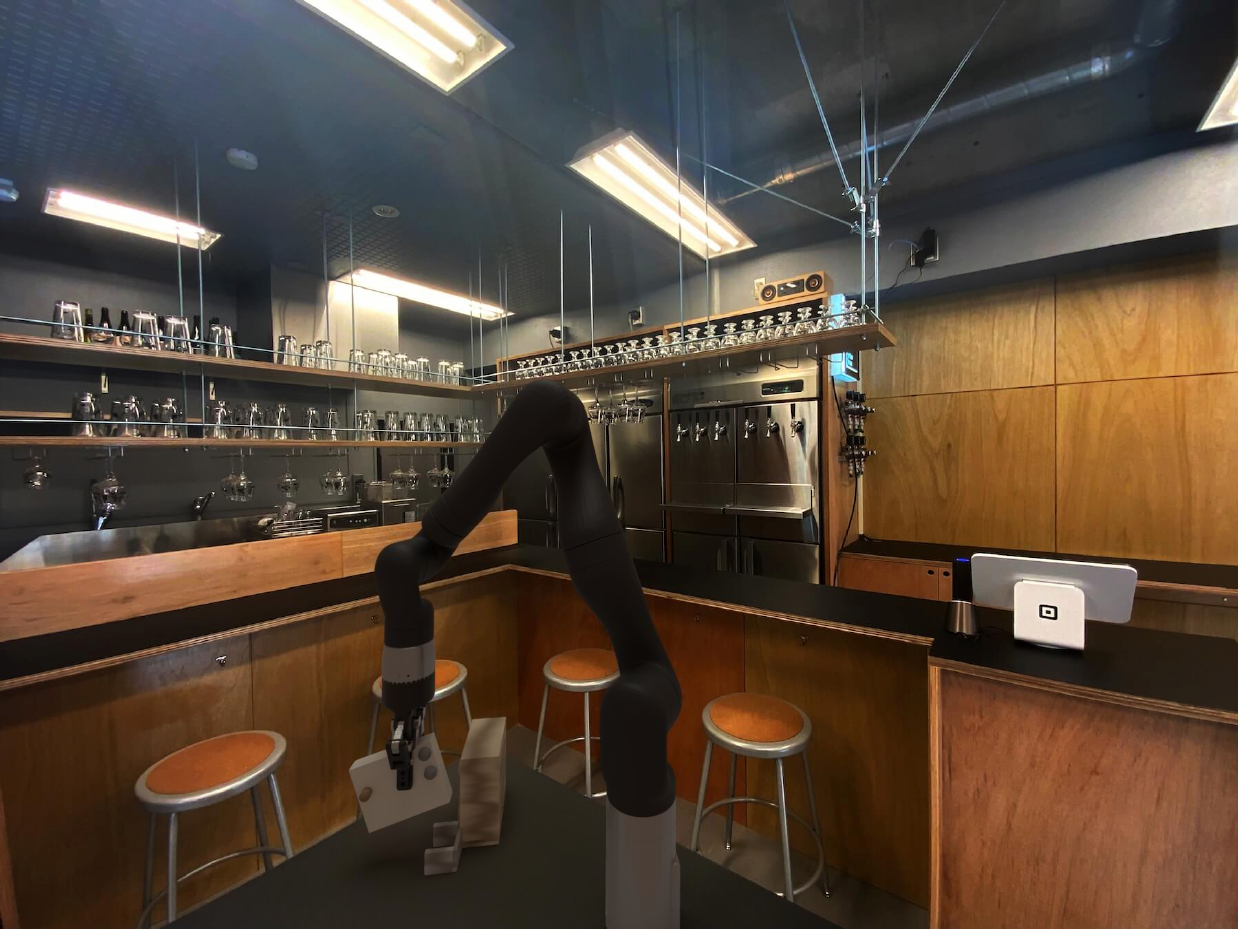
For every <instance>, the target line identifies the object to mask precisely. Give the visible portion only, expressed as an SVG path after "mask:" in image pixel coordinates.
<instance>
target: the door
mask: <svg viewBox="0 0 1238 929" xmlns="http://www.w3.org/2000/svg"><path fill="white" fill-rule="evenodd" d="M412 741H413V740H412ZM348 772H349V776H350V779H351V783H352V786H353V787H354V791H355V794H356V797H357V800H358V804H359V807H360V809H361V810H360V811H361V813H362V816H363V819H364V822H365V825H366V829H367V832H368V833H369V834H371V833H373V832H376V831H378V830H381V829H383V828H387V827H389V826H391V825H394V824H396V823H399V822H401V821H404V820H407V819H409V818H412V817H415V816H417V815H420V814H424V813H425V812H428V811H431V810H434V809H436V808H438V807H441V806H443V805H447V804H450V802H451V798H452V795H453V792H454V791H453V788H452V785H451V782H450V779H449V776H448V772H447V769H446V766H445V763H444V760H443V756H442V753H441V749H440V747H439V744H438V741H437V737H436V734H435V732H432V733H431V732H430V733H428V734H424V736H422V737H420V738H418V745H417V746H416V748H415V749H414V763H413V786H412V788H411V789H410V790H403V791H398V790H397V770H391V769H390V765H389V760H388V756H387V752H386V749H383V750H381V751H377V752H376V753H373V754H370V755H367V756H364V757H361V758H359V759H356V760H354V762H353V764H352V765H351V766H350V768H349V770H348Z"/></svg>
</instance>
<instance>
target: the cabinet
mask: <svg viewBox="0 0 1238 929" xmlns="http://www.w3.org/2000/svg"><path fill="white" fill-rule="evenodd" d="M468 729H469V730H468V732H467V737H466V740H465V743H464V746H463V750H462V753H461V756H460V761H459V762H458V766H457V767H458V768H457V774H458V776H457V820H453V821H443V822H434V823H433V826H432V828H433V829H432V847H433V848H425V851H424V861H423V863H424V867H423V868H424V870H423V871H424V872H423V873H424V876H430V875H431V876H432V875H439V874H448V873H449V874H450V873H455V872H456V873H457V872H458V868H459V865H460V864H459V863H460V859H461V855H462V850H463V849H464V848H465V849H466V848H475V847H484V846H486V847H487V846H493V845H499V843H500V835H501V830H502V829H501V827H502V821H503V820H502V819H503V813H504V808H503V807H505V800H506V799H505V798H506V793H507V792H506V790H507V789H506V788H507V786H506V784H507V783H506V782H507V778H506V776H507V774H506V772H507V770H506V769H507V768H506V767H507V760H506V759H507V717H506V716H501V717H485V718H472V720H471V723H470V726H469V728H468Z"/></svg>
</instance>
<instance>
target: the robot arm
mask: <svg viewBox="0 0 1238 929" xmlns="http://www.w3.org/2000/svg"><path fill="white" fill-rule="evenodd" d="M540 448H542V450H543V453H544V454H545V457H546V459H547V462H548V465H549V467H550V470H551V473H552V476H553V479H554V483H555V488H556V489H555V490H556V499H557V502H556V503H557V504H556V505H557V507H556V508H557V510H556V511H557V512H556V513H557V514H556V515H557V517H556V518H557V533H558V540H559V541H558V542H559V545H560V548H561V551H562V555H563V559H564V562H565V565H566V569H567V572H568V575H569V578H570V580H571V583H572V585H573V587H574V590H575V591H576V592H577V594H578V595H579V597H580V598H581V599H582V601H583V602H584V604H585V605H586V606H587V607H588V608H589V609H590V611H591V612H592V613H593V614H594V616H595V617H596V619H598V620H599V622H600V623H601V624H602V626H603V628H604V629H605V631H606V633H607V635H608V637H609V639H610V640H609V641H610V643H611V646H612V649H613V652H614V656H615V658H616V659H615V660H616V662H617V667H618V672H619V677H617V678H616V679H615V681H613V682H612V684H611V685H610V686H608V687H607V689H606V690H605V691H604V694H603V695H602V698H601V700H600V701H601V702H600V706H599V714H598V716H599V718H598V719H599V722H598V725H599V727H598V728H599V729H598V731H599V733H598V734H599V750H600V751H599V755H600V756H599V758H600V769H601V775H602V777H603V780H604V783H605V786H606V787H605V788H606V790H605V792H606V793H605V795H606V798H605V800H606V801H605V802H606V803H605V809H606V810H605V814H606V816H605V818H606V819H605V824H606V825H605V832H606V833H605V840H606V841H605V904H604V905H605V907H604V908H605V910H604V911H605V912H604V913H605V928H606V927H607V929H681V926H680V925H681V863H680V860H679V857H678V854H677V851H676V842H677V841H676V839H677V838H676V835H677V834H676V832H677V829H676V828H677V827H676V825H677V822H676V820H677V819H676V818H677V817H676V815H677V814H676V812H677V799H676V798H677V797H676V795H677V779H676V772H675V771H674V768H673V767H672V765H671V764H670V763H669V762H668V735H669V733H670V731H671V729H672V728H673V727H674V724H676V722H677V721H678V718H679V716H680V714H681V712H682V706H683V691H682V687H681V685H680V681H679V677H678V676H677V673H676V671H675V669H674V666H673V663H672V662H671V660H670V657H669V655H668V653H667V651H666V648H665V646H664V645H663V642H662V640H661V638H660V635H659V632H658V630H657V628H656V625H655V623H654V620H653V617H652V615H651V612H650V610H649V605H648V602H647V599H646V596H645V593H644V589H643V587H642V584H641V581H640V578H639V575H638V573H637V572H638V571H637V569H636V566H635V563H634V559H633V555H632V551H631V550H630V545H629V544H628V541H627V540H628V539H627V537H626V534H625V532H624V528H623V525H622V523H621V520H620V518H619V515H618V513H617V512H618V511H617V509H616V507H615V504H614V501H613V499H612V495H611V493H610V490H609V488H608V486H607V483H606V481H605V479H604V477H603V473H602V472H601V468H600V464H599V462H598V458H597V453H596V448H595V444H594V440H593V435H592V431H591V426H590V421H589V417H588V412H587V410H586V407H585V404H584V403H583V401H582V400H581V399H580V397H579V396H578V395H577V394H576V393H575V392H573V391H572V390H571V389H569V388H568V387H566V386H565V385H563V384H561V383H560V382H558V381H556V380H554V379H549V378H540V379H535V380H532V381H530V382H528V383H527V384H525V386H523V387H522V388H521V389H520V391H519V392H518V393H517V394H516V395H515V397H514V398H513V400H512V401H511V402H510V404H509V405H508V406H507V408H506V410H505V412H504V413H503V415H502V416H501V417H500V419H499V421H498V422H497V423H496V425H495V427H494V428H493V429H492V431H491V432H490V433H489V435H488V436H487V438H486V439H485V441H484V442H483V444H482V445H481V447H480V448H479V450H478V451H477V452H476V453H475V455H474V456H473V458H472V459H471V460H470V461H469V463H468V464H467V465H466V467H465V468H464V469H463V470H462V472H461V473H460V474H459V475H458V476H457V477H456V478H455V479H454V481H453V482H452V483H451V484H450V485H449V486H448V487H447V488H446V489H445V490H444V491H443V492H442V494H441V495H439V496H438V498H437V499H436V500H435V501H434V502H433V503H432V504H431V505H430V506H429V507H428V509H427V510H426V511H425V512H424V514H423V516H422V518H421V521H420V522H421V523H420V524H421V528H420V530H418V532H417V533H416V534H415V535H413V536H412V537H411V538H408V539H404V540H399V541H396V542H393V543H389V544H387V545H386V546H384V547H383V548H382V549H381V551H380V552H379V554H378V555H377V556H376V560H375V563H374V569H373V577H374V582H375V587H376V588H375V589H376V591H377V596H378V599H379V603H380V606H381V609H382V612H383V615H384V621H383V622H384V624H383V625H384V626H383V630H384V632H383V633H384V634H383V636H384V638H383V639H384V640H383V651H382V658H381V705H382V707H383V708H385V709H386V710H389V711H391V712H392V713H393V714H394V716H393V717H392V718H391V721H390V731H391V732H392V737H391V739H388V740H387V741H386V742H385V750H386V752H387V756H388V760H389V765H390V769H391V770H397V790H398V791H403V790H410V789H411V788H412V786H413V763H414V749H415V748H416V746H417V745H418V738H420V737H422V736H425V729H426V727H425V726H426V719H427V710H428V705H429V703H430V702H431V701H432V700H433V699H434V697H435V695H436V656H437V654H436V653H437V652H436V645H435V609H434V605H433V602H431V600H429V599H427V598H423V597H422V595H421V591H420V583H423V582H425V581H427V580H428V581H429V580H430V579H432V578H433V577H435V576H436V575H437V574H438V573H439V572H440V571H441V570H442V569H443V568H444V567H445V566H446V565H447V563H448V562H449V561H450V560H451V558H452V556H453V555H454V553H455V552H456V551H457V549H458V548H459V545H460V544H461V542H462V541H464V539H466V538H467V537H468V536H469V534H471V532H473V531H474V529H475V528H477V526H478V525H479V524H480V523H481V522H482V521H483V520H484V519H485V518H486V517H487V516H488V514H489V513H490V512H491V510H492V509H493V507H494V506H495V504H496V503H497V501H498V499H499V497H500V495H501V494H502V491H503V490H504V487H505V485H506V484H507V482H508V480H509V479H510V478H511V475H513V473H514V472H515V471H516V469H517V468H518V467H519V466H520V465H521V464H522V463H523V461H525V460H526V459H527V458H528V457H530V455H532V454H533V453H535V452H536V451H537V450H538V449H540ZM412 740H413V741H412Z"/></svg>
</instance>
